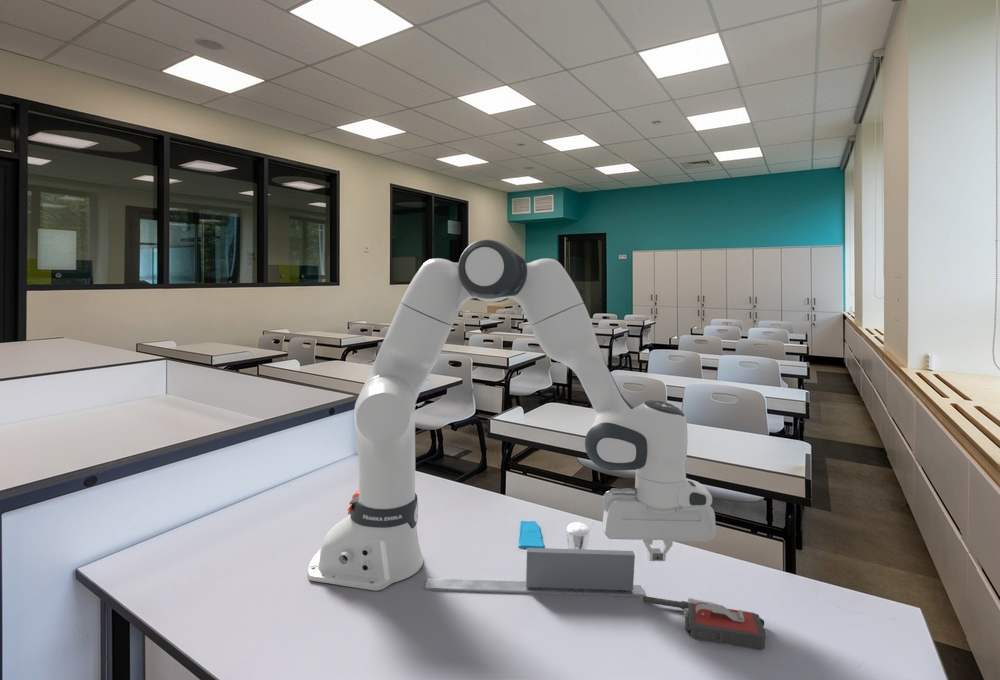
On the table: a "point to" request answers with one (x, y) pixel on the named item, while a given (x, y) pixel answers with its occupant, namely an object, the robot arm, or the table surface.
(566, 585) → the screen
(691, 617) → the walkie-talkie
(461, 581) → the rail
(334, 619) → the table surface
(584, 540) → the milkshake
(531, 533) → the sponge
